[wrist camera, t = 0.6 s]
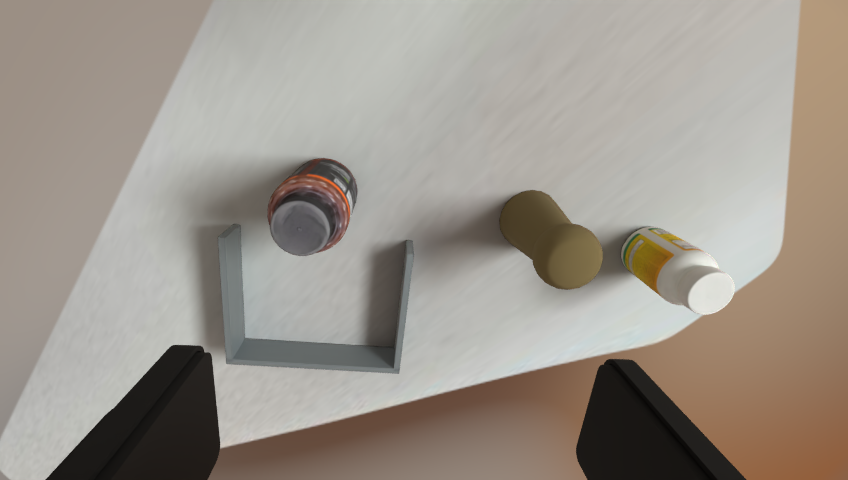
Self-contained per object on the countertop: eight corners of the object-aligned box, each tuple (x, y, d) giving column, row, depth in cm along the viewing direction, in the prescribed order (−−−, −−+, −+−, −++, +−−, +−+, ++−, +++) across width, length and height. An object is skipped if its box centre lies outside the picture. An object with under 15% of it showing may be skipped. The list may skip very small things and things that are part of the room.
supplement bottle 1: (287, 207, 37) (244, 255, 27) (302, 147, 35) (262, 172, 25) (348, 227, 38) (330, 279, 28) (366, 169, 36) (354, 202, 26)
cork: (497, 248, 40) (532, 303, 30) (501, 190, 38) (540, 228, 28) (555, 246, 40) (609, 300, 30) (562, 189, 38) (623, 226, 28)
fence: (233, 224, 37) (217, 237, 34) (412, 240, 39) (413, 254, 36) (239, 342, 42) (226, 363, 39) (398, 352, 44) (399, 373, 41)
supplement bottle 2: (663, 217, 40) (740, 253, 31) (673, 260, 42) (748, 306, 33) (613, 238, 40) (674, 281, 32) (625, 280, 42) (686, 331, 33)
